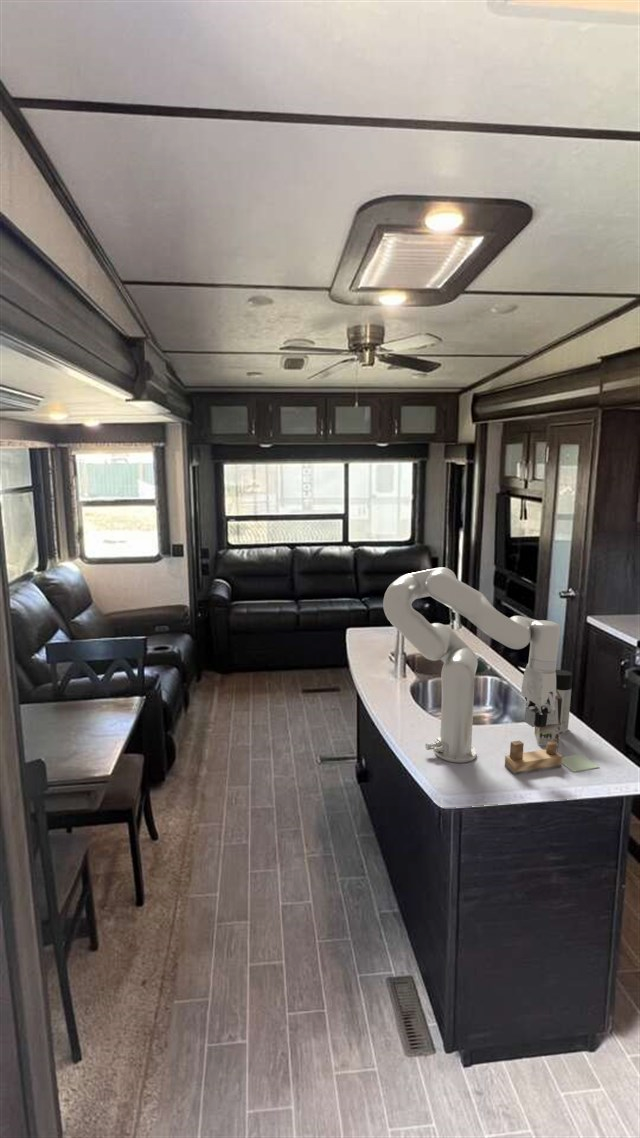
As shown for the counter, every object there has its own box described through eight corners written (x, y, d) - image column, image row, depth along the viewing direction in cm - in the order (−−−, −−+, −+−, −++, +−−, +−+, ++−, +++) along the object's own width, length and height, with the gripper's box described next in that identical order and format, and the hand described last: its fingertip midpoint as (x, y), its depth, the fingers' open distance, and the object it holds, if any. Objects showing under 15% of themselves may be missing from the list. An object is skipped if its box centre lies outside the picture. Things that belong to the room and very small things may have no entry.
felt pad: (573, 772, 177) (573, 771, 177) (555, 759, 184) (555, 758, 184) (599, 767, 179) (599, 766, 179) (580, 755, 187) (580, 754, 187)
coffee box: (559, 747, 192) (562, 699, 189) (537, 745, 193) (541, 697, 190) (554, 734, 201) (557, 688, 198) (533, 733, 202) (536, 687, 199)
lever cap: (532, 727, 175) (534, 709, 174) (524, 721, 179) (526, 703, 178) (547, 725, 177) (549, 707, 176) (538, 719, 180) (540, 702, 179)
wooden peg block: (514, 774, 175) (516, 747, 174) (504, 766, 180) (506, 739, 178) (561, 767, 180) (563, 740, 178) (550, 759, 184) (552, 733, 183)
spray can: (544, 724, 209) (548, 668, 205) (564, 724, 208) (568, 669, 205) (550, 733, 202) (554, 675, 199) (571, 733, 202) (575, 676, 198)
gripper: (513, 655, 181) (508, 712, 185) (549, 674, 165) (542, 737, 169) (535, 653, 183) (529, 710, 187) (572, 672, 168) (565, 734, 171)
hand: (535, 722), depth 178 cm, fingers closed on lever cap, 4 cm apart
